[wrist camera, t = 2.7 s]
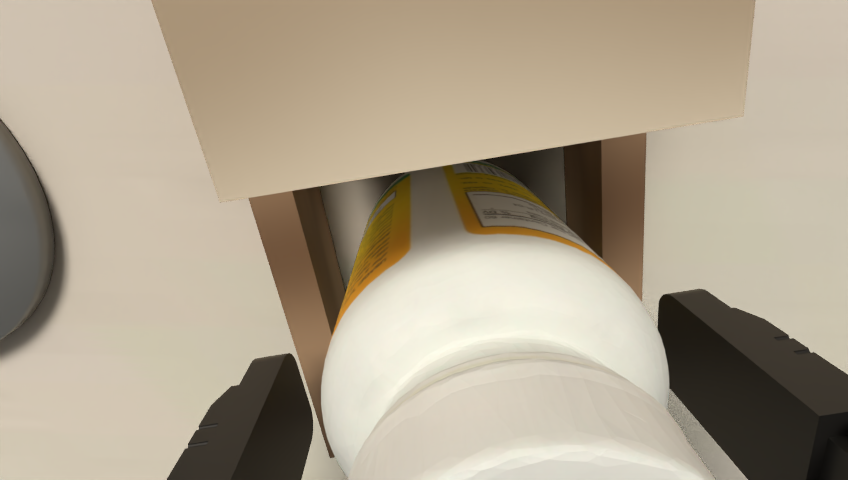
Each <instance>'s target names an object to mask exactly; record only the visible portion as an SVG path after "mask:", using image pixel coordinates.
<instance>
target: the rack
mask: <svg viewBox="0 0 848 480" xmlns="http://www.w3.org/2000/svg"><path fill="white" fill-rule="evenodd" d="M151 1H152V4H153V7H154V10H155V13H156V16H157V19H158V22H159V24H160V27H161V30H162V33H163V36H164V39H165V42H166V45H167V48H168V51H169V54H170V57H171V60H172V63H173V66H174V69H175V72H176V75H177V77H178V80H179V83H180V86H181V89H182V92H183V95H184V98H185V101H186V104H187V107H188V110H189V113H190V116H191V119H192V122H193V125H194V128H195V130H196V133H197V136H198V139H199V142H200V145H201V148H202V151H203V154H204V157H205V160H206V163H207V166H208V169H209V172H210V175H211V178H212V180H213V183H214V186H215V189H216V192H217V195H218V198H219V201H220V203H221V202H227V201H233V200H239V199H245V198H249V201H250V204H251V208H252V211H253V214H254V217H255V220H256V224H257V227H258V230H259V233H260V236H261V239H262V243H263V246H264V249H265V252H266V255H267V259H268V262H269V265H270V268H271V271H272V274H273V278H274V281H275V284H276V287H277V290H278V294H279V297H280V300H281V303H282V306H283V310H284V313H285V316H286V319H287V322H288V325H289V329H290V332H291V335H292V338H293V341H294V345H295V348H296V351H297V354H298V357H299V361H300V364H301V367H302V370H303V373H304V376H305V380H306V383H307V386H308V389H309V392H310V396H311V399H312V402H313V405H314V408H315V412H316V415H317V418H318V421H319V424H320V427H321V431H322V434H323V437H324V440H325V443H326V447H327V450H328V453H329V456H330V458H333V457H335V456H334V454H333V452H332V449H331V447H330V444H329V442H328V439H327V435H326V432H325V427H324V423H323V416H322V409H321V383H322V375H323V369H324V363H325V358H326V355H327V351H328V348H329V344H330V341H331V337H332V334H333V331H334V328H335V325H336V322H337V318H338V315H339V312H340V309H341V305H342V303H343V300H344V297H345V289H344V285H343V281H342V277H341V273H340V269H339V265H338V261H337V257H336V253H335V249H334V245H333V241H332V237H331V233H330V229H329V225H328V222H327V218H326V214H325V210H324V206H323V202H322V198H321V194H320V190H319V186H324V185H330V184H336V183H342V182H348V181H355V180H361V179H367V178H373V177H379V176H385V175H391V174H397V173H403V172H409V171H415V170H421V169H427V168H433V167H439V166H446V165H452V164H458V163H464V162H470V161H476V160H482V159H488V158H494V157H500V156H506V155H512V154H518V153H524V152H530V151H537V150H543V149H549V148H555V147H561V146H564V164H565V189H566V213H567V226H568V227H569V228H570V229H571V230H572V231H573V232H574V233H576V234H577V235H578V236H579V237H580V238H581V239H582V240H583V241H584V242H585V243H586V244H587V245H588V246H589V247H590V248H591V249H592V250H593V251H594V252H595V253H596V254H597V255H599V256H600V257H601V258H602V259H603V260H604V261H605V262H606V263H607V264H608V265H609V266H610V267H611V268H612V269H613V270H614V271H615V272H616V273H617V274H618V275H619V276H620V277H621V278H622V279H623V280H624V281H625V282H626V283H627V284H628V285H629V286H630V287H631V288H632V290H633V291H634V292H635V294H636V295H637V296H638V297H639V299H640V300H641V301H642V277H643V239H644V201H645V163H646V132H652V131H658V130H664V129H670V128H676V127H682V126H688V125H694V124H700V123H706V122H713V121H719V120H725V119H731V118H737V117H743V115H744V105H745V96H746V86H747V77H748V67H749V57H750V48H751V38H752V28H753V19H754V9H755V0H151Z"/></svg>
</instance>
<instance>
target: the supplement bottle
mask: <svg viewBox="0 0 848 480" xmlns="http://www.w3.org/2000/svg"><path fill="white" fill-rule="evenodd" d="M668 400H669V371H668V363H667V358H666V353H665V348H664V345H663V342H662V339H661V336H660V334H659V332H658V329H657V327H656V325H655V323H654V321H653V319H652V317H651V315H650V313H649V312H648V310H647V309H646V307H645V306H644V304H643V303H642V301H641V300H640V299H639V297H638V296H637V295H636V294H635V292H634V291H633V290H632V288H631V287H630V286H629V285H628V284H627V283H626V282H625V281H624V280H623V279H622V278H621V277H620V276H619V275H618V274H617V273H616V272H615V271H614V270H613V269H612V268H611V267H610V266H609V265H608V264H607V263H606V262H605V261H604V260H603V259H602V258H601V257H600V256H599V255H597V254H596V253H595V252H594V251H593V250H592V249H591V248H590V247H589V246H588V245H587V244H586V243H585V242H584V241H583V240H582V239H581V238H580V237H579V236H578V235H577V234H576V233H574V232H573V231H572V230H571V229H570V228H569V227H568V226H567V225H566V224H565V223H564V222H563V221H561V220H560V219H559V218H558V217H557V216H556V215H555V214H554V213H553V212H552V211H551V210H550V209H549V208H548V207H547V206H546V205H545V204H544V203H543V202H542V201H541V200H540V199H539V198H538V197H537V196H536V195H535V194H534V193H533V192H531V191H530V190H529V189H528V188H527V187H526V186H525V185H524V184H523V183H522V182H520V181H519V180H518V179H517V178H516V177H514V176H513V175H511V174H510V173H508V172H507V171H505V170H504V169H502V168H500V167H498V166H495V165H493V164H491V163H488V162H485V161H481V160H476V161H470V162H464V163H458V164H452V165H446V166H439V167H433V168H427V169H421V170H415V171H409V172H406V173H405V174H403V175H402V176H400V177H399V178H398V179H396V180H395V181H394V182H393V183H392V184H391V185H390V186H389V187H388V188H387V189H386V191H385V192H384V193H383V194H382V195H381V197H380V198H379V200H378V201H377V203H376V205H375V206H374V208H373V210H372V212H371V214H370V217H369V219H368V222H367V225H366V228H365V231H364V235H363V238H362V241H361V244H360V247H359V251H358V254H357V257H356V260H355V264H354V267H353V270H352V274H351V277H350V280H349V283H348V287H347V290H346V293H345V297H344V300H343V303H342V305H341V309H340V312H339V315H338V318H337V322H336V325H335V328H334V331H333V334H332V337H331V341H330V344H329V348H328V351H327V355H326V358H325V363H324V369H323V375H322V383H321V409H322V416H323V423H324V427H325V432H326V435H327V439H328V442H329V444H330V447H331V449H332V452H333V454H334V456H335V458H336V460H337V462H338V464H339V466H340V467H341V469H342V470H343V472H344V473H345V475H346V476H347V478H348V480H716V479H715V478H714V477H713V475H712V474H711V473H710V471H709V470H708V468H707V467H706V466H705V464H704V463H703V462H702V460H701V459H700V457H699V456H698V455H697V453H696V452H695V450H694V449H693V448H692V446H691V445H690V443H689V442H688V441H687V439H686V437H685V435H684V433H683V431H682V429H681V428H680V427H679V425H678V424H677V422H676V421H675V420H674V418H673V417H672V416H671V414H670V413H669V412H668V411H667V408H668Z"/></svg>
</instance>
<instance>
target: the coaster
mask: <svg viewBox="0 0 848 480" xmlns="http://www.w3.org/2000/svg"><path fill="white" fill-rule="evenodd" d="M53 263H54V234H53V227H52V219H51V216H50V212H49V208H48V205H47V201H46V198H45V195H44V193H43V190H42V188H41V185H40V183H39V181H38V178H37V176H36V174H35V172H34V170H33V168H32V166H31V165H30V163H29V161H28V159H27V157H26V156H25V154H24V152H23V150H22V149H21V147H20V146H19V145H18V143H17V142H16V140H15V139H14V137H13V136H12V135H11V133H10V132H9V130H8V129H7V127H6V126H5V125H4V124H3V123H2V122H1V120H0V340H1V339H3V338H5V337H6V336H8V335H9V334H11V333H12V332H13V331H14V330H16V329H17V328H18V327H20V326H21V325H22V324H23V323H24V322H25V321H26V320H27V319H28V318H29V317H30V316H31V314H32V313H33V312H34V311H35V310H36V308H37V307H38V305H39V303H40V302H41V300H42V298H43V297H44V295H45V292H46V289H47V287H48V284H49V281H50V279H51V274H52V268H53Z"/></svg>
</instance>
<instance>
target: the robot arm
mask: <svg viewBox="0 0 848 480" xmlns="http://www.w3.org/2000/svg"><path fill="white" fill-rule="evenodd" d="M658 332H659V334H660V336H661V339H662V342H663V345H664V348H665V353H666V358H667V363H668V371H669V388H670V389H671V390H672V391H673V392H674V393H675V395H676V396H677V397H678V398H679V399H680V400H681V402H682V403H683V404H684V405H685V406H686V407H687V409H688V410H689V411H690V412H691V413H692V414H693V416H694V417H695V418H696V419H697V420H698V421H699V423H700V424H701V425H702V426H703V427H704V428H705V430H706V431H707V432H708V433H709V434H710V436H711V437H712V438H713V439H714V440H715V441H716V443H717V444H718V445H719V446H720V447H721V448H722V450H723V451H724V452H725V453H726V454H727V455H728V457H729V458H730V459H731V460H732V461H733V462H734V464H735V465H736V466H737V467H738V468H739V469H740V471H741V472H742V473H743V474H744V475H745V476H746V478H747V479H748V480H848V375H847V374H846V373H844V372H843V371H841V370H840V369H838V368H837V367H835V366H834V365H832V364H831V363H829V362H828V361H826V360H825V359H823V358H822V357H820V356H819V355H817V354H816V353H814V352H813V353H810V351H809V349H808V348H807V347H805V346H804V345H802V344H801V343H799V342H798V341H796V340H795V339H790V338H789V336H788V335H787V334H786V333H784V332H783V331H781V330H780V329H778V328H777V327H775V326H774V325H772V324H771V323H769V322H768V321H766V320H765V319H763V318H760V317H757V316H755V315H752V314H750V313H747V312H745V311H742V310H739V309H737V308H730V307H729V306H728V305H726V304H725V303H723V302H722V301H720V300H719V299H718V298H716V297H715V296H713V295H712V294H710V293H709V292H708V291H706V290H703V289H695V290H689V291H683V292H677V293H670V294H665V295H663V296H662V297H661V298H660V301H659V308H658ZM312 435H313V417H312V411H311V407H310V404H309V401H308V398H307V394H306V391H305V388H304V385H303V382H302V379H301V376H300V372H299V369H298V366H297V363H296V360H295V358H294V357H293V355H292V354H290V353H288V354H282V355H275V356H269V357H263V358H257V359H254V360H253V361H252V363H251V364H250V366H249V368H248V370H247V372H246V374H245V375H244V377H243V379H242V381H241V383H240V385H237V386H231V387H230V388H229V389H228V390H227V391H226V392H225V393H224V394H223V395H222V396H221V397H220V398H218V399H217V400H216V401H215V402H214V403H213V404H212V405H211V407H210V408H209V410H208V412H207V413H206V415H205V417H204V418H203V420H202V422H201V423H200V425H199V430H196V432H195V433H194V435H193V437H192V438H191V440H190V442H189V443H188V448H187V449H185V450H184V452H183V453H182V455H181V457H180V458H179V460H178V462H177V463H176V465H175V467H174V468H173V470H172V472H171V473H170V475H169V477H168V478H167V480H301V478H302V475H303V471H304V467H305V463H306V459H307V456H308V452H309V448H310V444H311V440H312Z"/></svg>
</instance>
